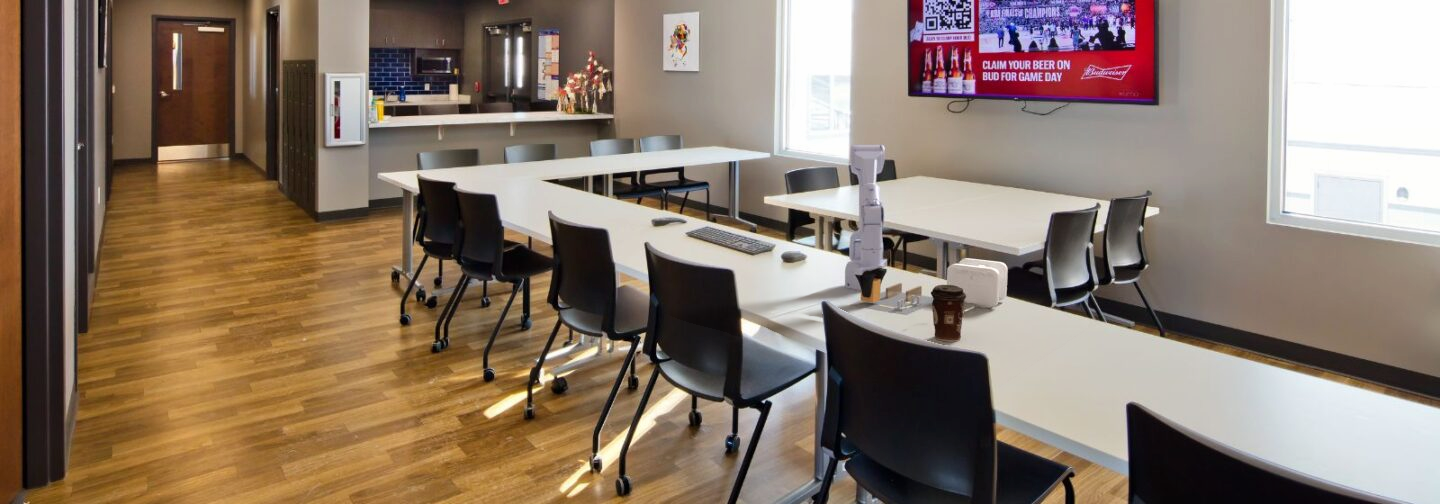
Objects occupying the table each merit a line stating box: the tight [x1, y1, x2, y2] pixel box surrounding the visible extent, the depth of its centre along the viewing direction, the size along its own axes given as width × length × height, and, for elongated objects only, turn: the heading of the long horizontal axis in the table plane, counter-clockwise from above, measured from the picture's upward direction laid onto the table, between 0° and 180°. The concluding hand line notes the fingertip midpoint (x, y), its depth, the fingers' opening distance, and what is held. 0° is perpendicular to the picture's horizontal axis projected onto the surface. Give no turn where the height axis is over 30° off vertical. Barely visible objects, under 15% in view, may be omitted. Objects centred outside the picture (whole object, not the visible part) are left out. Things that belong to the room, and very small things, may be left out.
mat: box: [849, 290, 933, 316], centre depth 263 cm, size 18×22×4 cm
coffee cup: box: [930, 284, 966, 343], centre depth 229 cm, size 9×8×13 cm
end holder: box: [885, 282, 923, 302], centre depth 268 cm, size 7×8×3 cm
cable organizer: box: [946, 257, 1009, 309], centre depth 264 cm, size 15×11×12 cm
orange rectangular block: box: [860, 278, 882, 303], centre depth 261 cm, size 4×4×6 cm
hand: (870, 295), depth 262 cm, fingers closed on orange rectangular block, 4 cm apart
